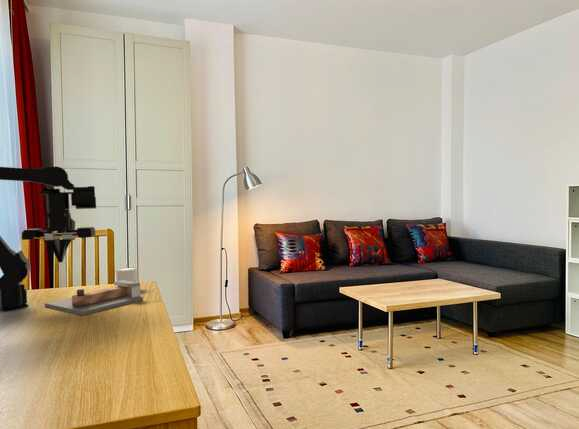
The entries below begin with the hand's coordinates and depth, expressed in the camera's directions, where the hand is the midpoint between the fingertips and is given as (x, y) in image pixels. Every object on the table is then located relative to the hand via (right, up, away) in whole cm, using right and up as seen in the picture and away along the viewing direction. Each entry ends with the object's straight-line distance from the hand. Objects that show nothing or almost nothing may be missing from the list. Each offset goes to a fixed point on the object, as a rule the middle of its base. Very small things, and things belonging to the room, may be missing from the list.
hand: (60, 262), depth 131 cm
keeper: (+19, -11, +3) cm, 22 cm away
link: (+13, -10, -3) cm, 17 cm away
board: (+11, -12, -2) cm, 16 cm away
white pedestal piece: (+14, -11, +17) cm, 24 cm away
